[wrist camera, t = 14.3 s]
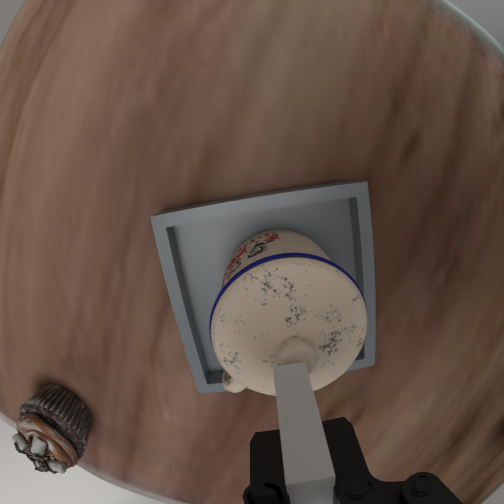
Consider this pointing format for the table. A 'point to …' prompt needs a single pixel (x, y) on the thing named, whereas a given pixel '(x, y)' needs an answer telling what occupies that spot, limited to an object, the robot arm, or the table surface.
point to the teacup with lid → (285, 313)
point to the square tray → (242, 228)
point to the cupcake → (53, 429)
